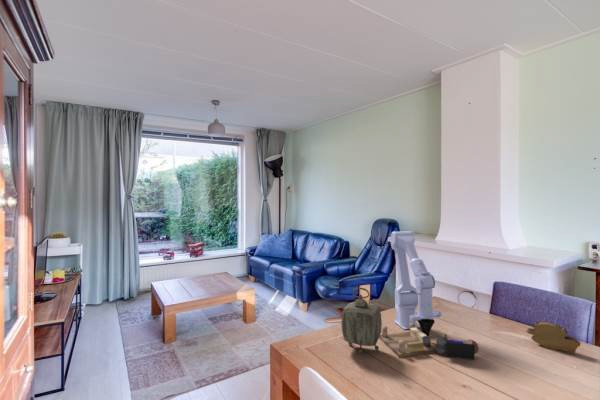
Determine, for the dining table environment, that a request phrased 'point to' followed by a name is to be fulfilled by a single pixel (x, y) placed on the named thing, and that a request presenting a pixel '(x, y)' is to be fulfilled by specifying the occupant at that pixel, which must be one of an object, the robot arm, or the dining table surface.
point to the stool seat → (405, 343)
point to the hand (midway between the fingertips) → (425, 336)
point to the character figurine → (456, 348)
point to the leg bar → (420, 337)
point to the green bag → (361, 322)
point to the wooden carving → (553, 337)
